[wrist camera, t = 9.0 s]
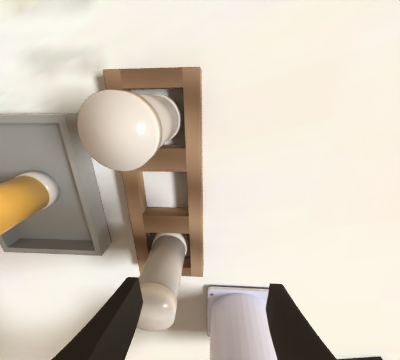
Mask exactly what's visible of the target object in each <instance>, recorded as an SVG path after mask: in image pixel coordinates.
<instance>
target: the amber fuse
mask: <svg viewBox="0 0 400 360" xmlns="http://www.w3.org/2000/svg"><path fill="white" fill-rule="evenodd" d="M59 197H60V189H59V186H58V184H57V182H56V181H55V180H54V179H53V178H52V177H51V176H50V175H49V174H47V173H45V172H43V171H39V170H32V171H29V172H26V173H23V174H21V175H18V176H16V177H15V178H14V179H11V180H8V181H6V182H3V183H1V184H0V235H2V234H3V233H5V232H6V231H8V230H10V229H11V228H13V227H14V226H16V225H18V224H19V223H21V222H22V221H24V220H26V219H27V218H29V217H30V216H32V215H34V214H35V213H37V212H38V211H40V210H42V209H45V208H47V207H48V206H50V205H51V204H53V203H55V202H56V201H57V200H58V199H59Z"/></svg>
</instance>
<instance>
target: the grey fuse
mask: <svg viewBox="0 0 400 360" xmlns="http://www.w3.org/2000/svg"><path fill="white" fill-rule="evenodd" d="M187 247H188V238H187V236H186V234H182V233H157V234H156V236H155V238H154V241H153V243H152V248H151V250H150V253H149V255H148V257H147V260H146V262H145V265H144V267H143V269H142V272H141V274H140V277H139V283H140V288H141V293H142V299H143V305H142V309H141V313H140V317H139V321H138V324H137V327H138V328H140V329H143V330H147V331H162V330H165V329H167V328H169V327H170V326H171V325H172V324H173V323H174V320H175V314H176V309H177V303H178V301H177V296H178V290H179V285H180V280H181V274H182V269H183V263H184V258H185V255H186V252H187Z"/></svg>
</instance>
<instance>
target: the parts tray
mask: <svg viewBox="0 0 400 360" xmlns="http://www.w3.org/2000/svg"><path fill="white" fill-rule="evenodd" d="M78 114H79V113H41V114H0V184H1V183H3V182H6V181H8V180H11V179H14V178H15V177H16V176H18V175H21V174H23V173H26V172H29V171H32V170H39V171H43V172H45V173H47V174H49V175H50V176H51V177H52V178H53V179H54V180H55V181H56V182H57V184H58V186H59V189H60V197H59V199H58V200H57V201H56V202H55V203H53V204H51V205H50V206H48V207H47V208H45V209H42V210H40V211H38V212H37V213H35V214H34V215H32V216H30V217H29V218H27V219H26V220H24V221H22V222H21V223H19V224H18V225H16V226H14V227H13V228H11V229H10V230H8V231H6V232H5V233H3V234H2V235H0V244H1V246H2V248H3V250H4V252H23V253H48V254H74V255H100V256H102V255H103V254H104V252H105V251H106V249H107V248H108V247H109V245H110V244H111V239H110V234H109V230H108V226H107V222H106V218H105V214H104V209H103V205H102V201H101V197H100V193H99V189H98V185H97V180H96V176H95V172H94V168H93V164H92V160H91V156H90V154H89V153H88V152H87V150H86V149H85V147H84V145H83V144H82V141H81V139H80V136H79V132H78V124H77V122H78Z"/></svg>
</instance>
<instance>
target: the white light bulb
mask: <svg viewBox="0 0 400 360" xmlns="http://www.w3.org/2000/svg"><path fill="white" fill-rule="evenodd" d="M77 124H78V132H79V136H80V139H81V141H82V144H83V145H84V147H85V149H86V150H87V152H88V153H89V154H90V155H91V156H92V157H93V158H94V159H95V160H96V161H97V162H99V163H100V164H102V165H103V166H105V167H108V168H110V169H113V170H118V171H130V170H134V169H137V168H139V167H141V166H142V165H144V164H145V163H146V162H147V161H148V160H149V159H150V158H151V157H153V156H154V155H155V153H156V152H157V151H158V149H159V148H160V147H161V146H162V145H163V144H164V143H165V142H167V141H169V140H170V139H172V138H173V137H174V136H175V135H176V134H177V133H178V132H179V130H180V128H181V125H182V113H181V110H180V108H179V106H178V105H177V103H176V102H175V101H174V100H173V99H171V98H170V97H168V96H165V95H160V94H151V95H141V94H135V93H132V92H128V91H119V90H103V91H99V92H96V93H94V94H92V95H91V96H89V97H88V98H87V99H86V100H85V102H84V103H83V104H82V106H81V108H80V111H79V114H78V122H77Z"/></svg>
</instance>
